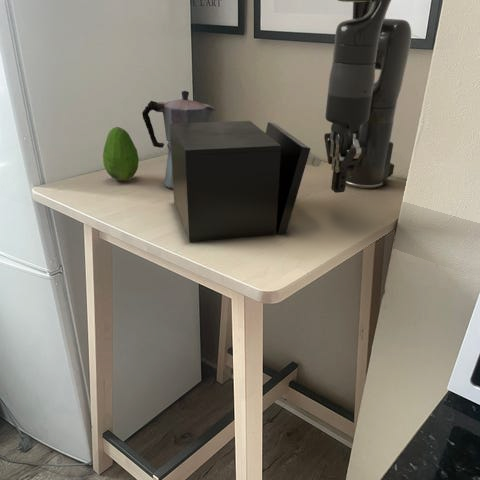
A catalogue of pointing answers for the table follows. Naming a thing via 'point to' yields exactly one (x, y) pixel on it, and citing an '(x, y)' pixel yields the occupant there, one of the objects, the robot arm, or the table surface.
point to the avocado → (120, 155)
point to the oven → (225, 180)
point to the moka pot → (175, 122)
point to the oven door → (289, 172)
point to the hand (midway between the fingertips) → (337, 191)
